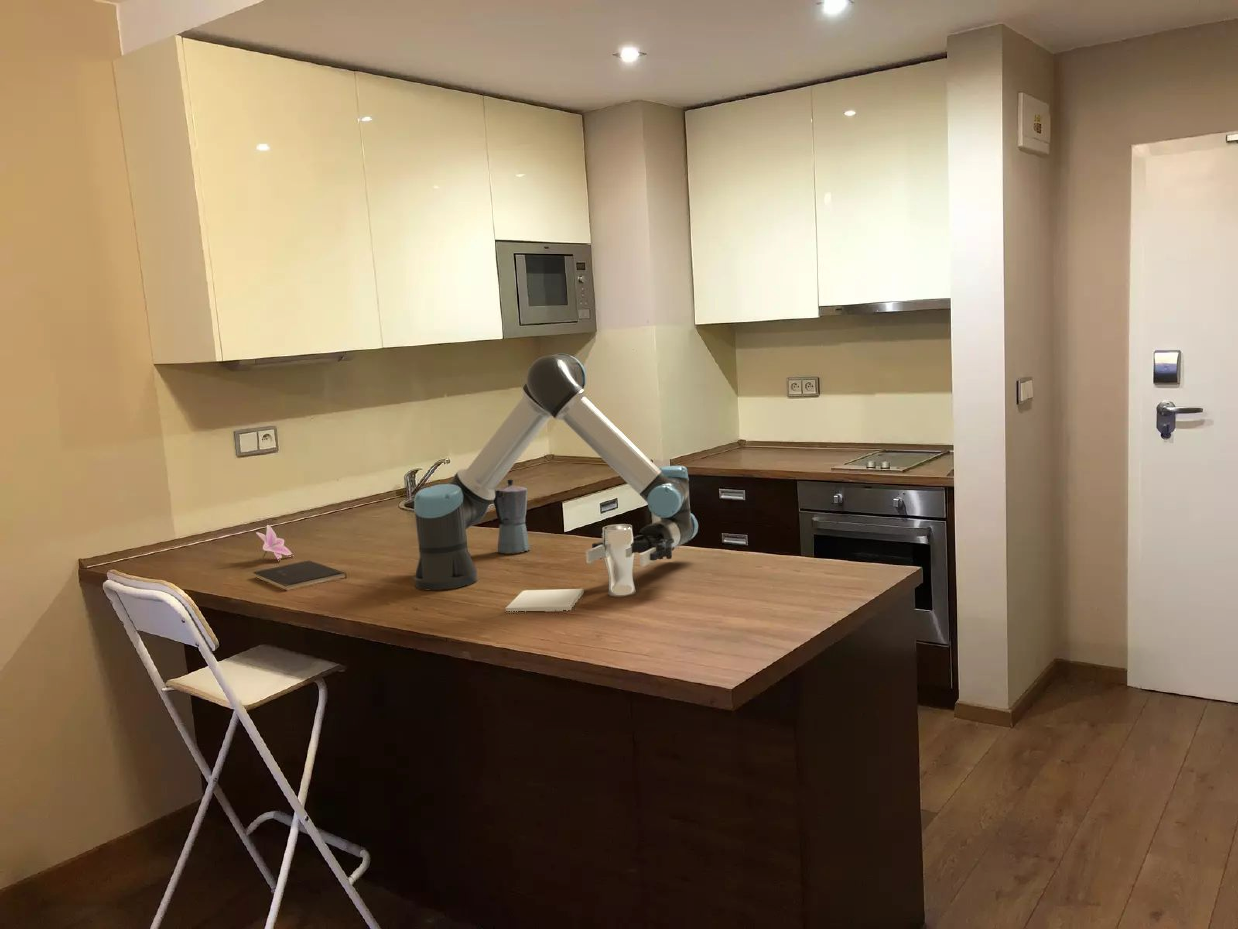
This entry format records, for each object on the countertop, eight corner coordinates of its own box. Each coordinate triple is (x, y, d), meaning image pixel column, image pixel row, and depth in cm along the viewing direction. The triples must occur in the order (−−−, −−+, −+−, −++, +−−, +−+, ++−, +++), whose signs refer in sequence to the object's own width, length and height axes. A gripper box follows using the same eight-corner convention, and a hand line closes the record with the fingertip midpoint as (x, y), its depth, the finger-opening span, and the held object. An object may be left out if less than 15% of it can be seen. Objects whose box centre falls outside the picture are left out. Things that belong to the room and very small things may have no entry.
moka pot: (541, 545, 276) (535, 475, 273) (517, 558, 261) (511, 484, 258) (510, 545, 279) (504, 476, 276) (485, 558, 264) (478, 485, 262)
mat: (506, 612, 210) (505, 607, 210) (523, 594, 223) (523, 590, 223) (570, 610, 207) (569, 606, 207) (583, 593, 221) (583, 588, 221)
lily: (258, 571, 275) (272, 540, 274) (236, 552, 281) (250, 522, 280) (293, 574, 285) (306, 545, 284) (271, 555, 291) (284, 526, 290)
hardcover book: (286, 594, 244) (285, 585, 244) (254, 580, 262) (253, 571, 261) (347, 580, 254) (346, 571, 253) (312, 568, 272) (311, 559, 271)
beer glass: (605, 590, 221) (600, 525, 219) (636, 587, 222) (631, 522, 220) (607, 598, 215) (602, 531, 213) (639, 595, 215) (634, 528, 213)
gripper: (707, 556, 227) (665, 579, 209) (613, 551, 240) (567, 572, 222) (705, 524, 226) (663, 544, 208) (611, 521, 239) (564, 540, 221)
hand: (613, 559), depth 215 cm, fingers open, 13 cm apart
